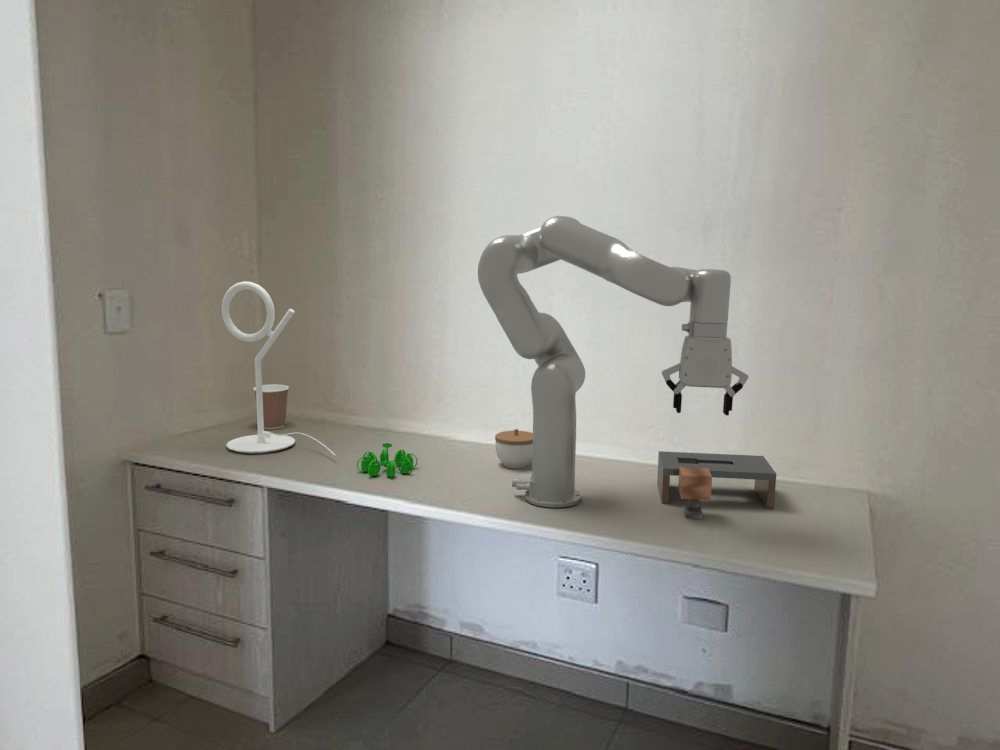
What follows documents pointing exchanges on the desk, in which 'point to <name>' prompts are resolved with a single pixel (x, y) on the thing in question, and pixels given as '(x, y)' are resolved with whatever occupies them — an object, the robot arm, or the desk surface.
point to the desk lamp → (258, 372)
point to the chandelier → (387, 462)
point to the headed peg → (694, 489)
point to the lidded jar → (514, 448)
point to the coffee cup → (274, 405)
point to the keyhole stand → (719, 471)
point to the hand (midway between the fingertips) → (701, 412)
